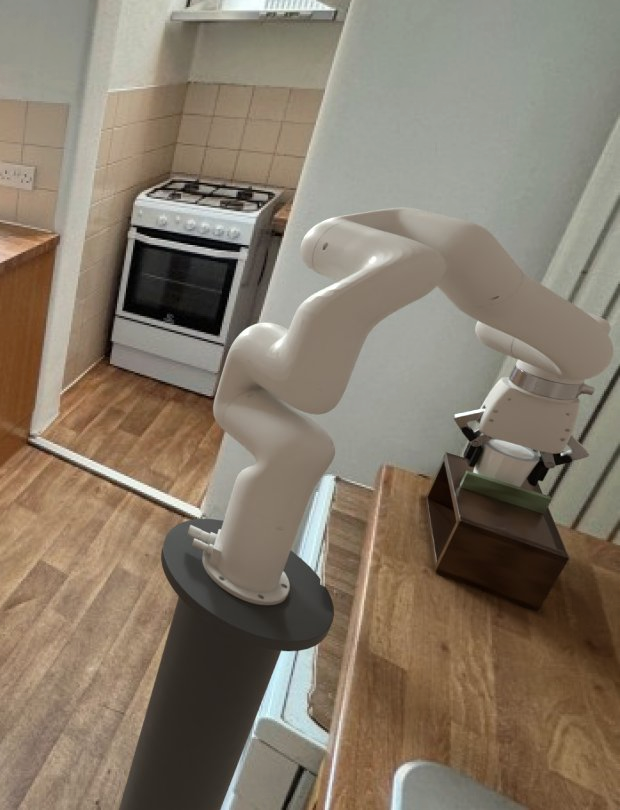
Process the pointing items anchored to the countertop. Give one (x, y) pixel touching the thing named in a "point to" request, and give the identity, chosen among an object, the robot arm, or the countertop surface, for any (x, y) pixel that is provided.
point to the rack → (493, 534)
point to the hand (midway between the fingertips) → (499, 471)
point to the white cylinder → (506, 461)
